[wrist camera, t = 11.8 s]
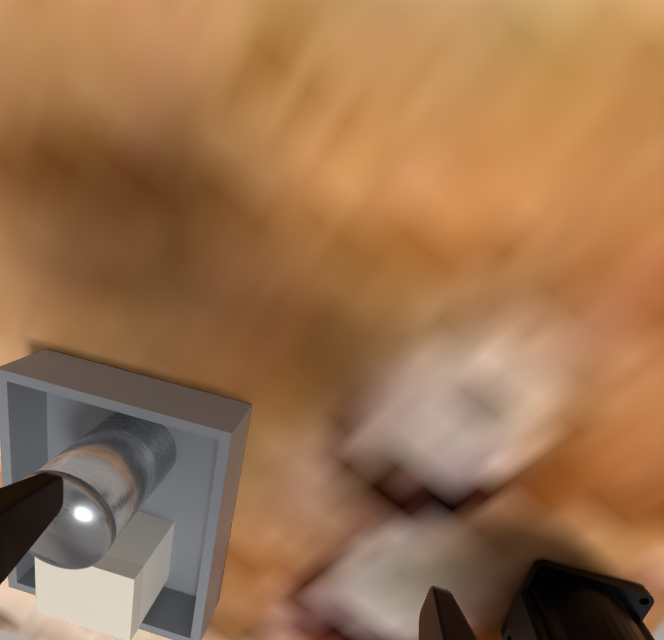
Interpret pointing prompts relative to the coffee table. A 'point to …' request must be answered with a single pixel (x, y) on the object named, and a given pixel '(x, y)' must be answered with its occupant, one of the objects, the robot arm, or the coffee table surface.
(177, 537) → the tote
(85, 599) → the beige rectangular block
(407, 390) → the coffee table surface
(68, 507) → the steel tin
